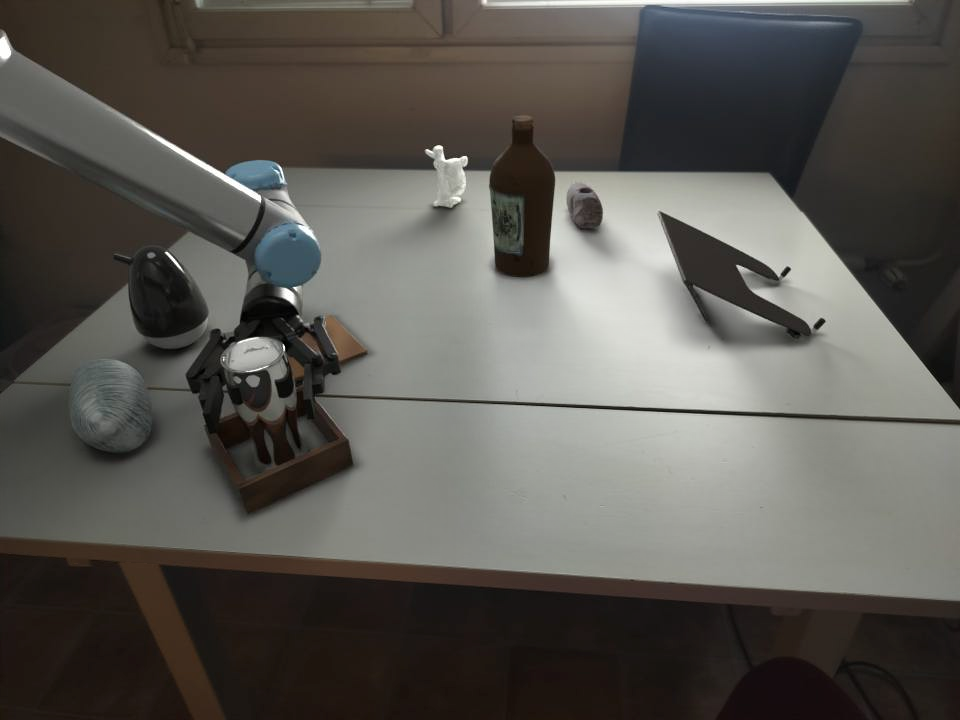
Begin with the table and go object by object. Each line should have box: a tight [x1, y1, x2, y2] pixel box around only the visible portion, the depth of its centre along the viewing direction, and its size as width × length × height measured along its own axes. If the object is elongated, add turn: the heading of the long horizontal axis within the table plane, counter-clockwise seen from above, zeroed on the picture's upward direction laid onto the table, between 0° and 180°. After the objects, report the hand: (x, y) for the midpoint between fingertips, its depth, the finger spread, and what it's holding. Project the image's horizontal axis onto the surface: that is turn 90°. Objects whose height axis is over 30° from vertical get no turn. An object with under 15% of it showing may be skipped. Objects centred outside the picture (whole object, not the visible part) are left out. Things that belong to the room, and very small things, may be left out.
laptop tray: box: [657, 210, 827, 340], centre depth 101 cm, size 23×23×9 cm
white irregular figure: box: [424, 144, 469, 209], centre depth 136 cm, size 8×7×12 cm
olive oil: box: [488, 114, 556, 278], centre depth 109 cm, size 11×11×25 cm
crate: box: [203, 385, 354, 515], centre depth 77 cm, size 13×13×4 cm
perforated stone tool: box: [565, 181, 604, 230], centre depth 129 cm, size 15×5×7 cm, turn 6°
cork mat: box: [286, 315, 368, 383], centre depth 97 cm, size 12×12×1 cm
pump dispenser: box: [112, 244, 210, 350], centre depth 96 cm, size 10×10×15 cm
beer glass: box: [220, 336, 309, 473], centre depth 74 cm, size 7×7×15 cm
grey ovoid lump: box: [68, 358, 153, 453], centre depth 82 cm, size 14×10×10 cm
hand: (259, 416), depth 69 cm, fingers open, 9 cm apart
